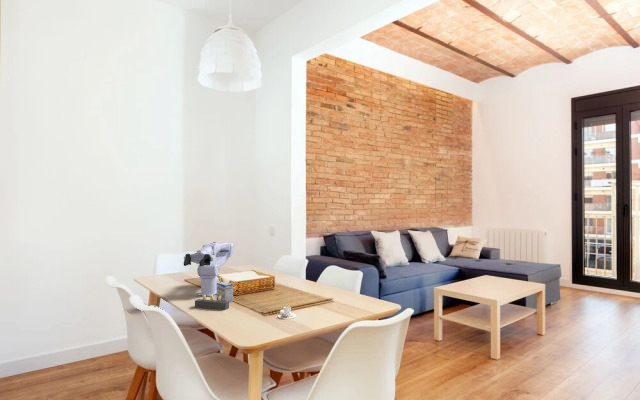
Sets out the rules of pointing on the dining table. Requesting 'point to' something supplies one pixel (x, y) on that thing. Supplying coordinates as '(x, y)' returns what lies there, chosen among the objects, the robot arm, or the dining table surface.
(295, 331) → the dining table surface
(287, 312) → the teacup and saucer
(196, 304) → the pin header
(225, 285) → the medicine box
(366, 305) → the dining table surface
